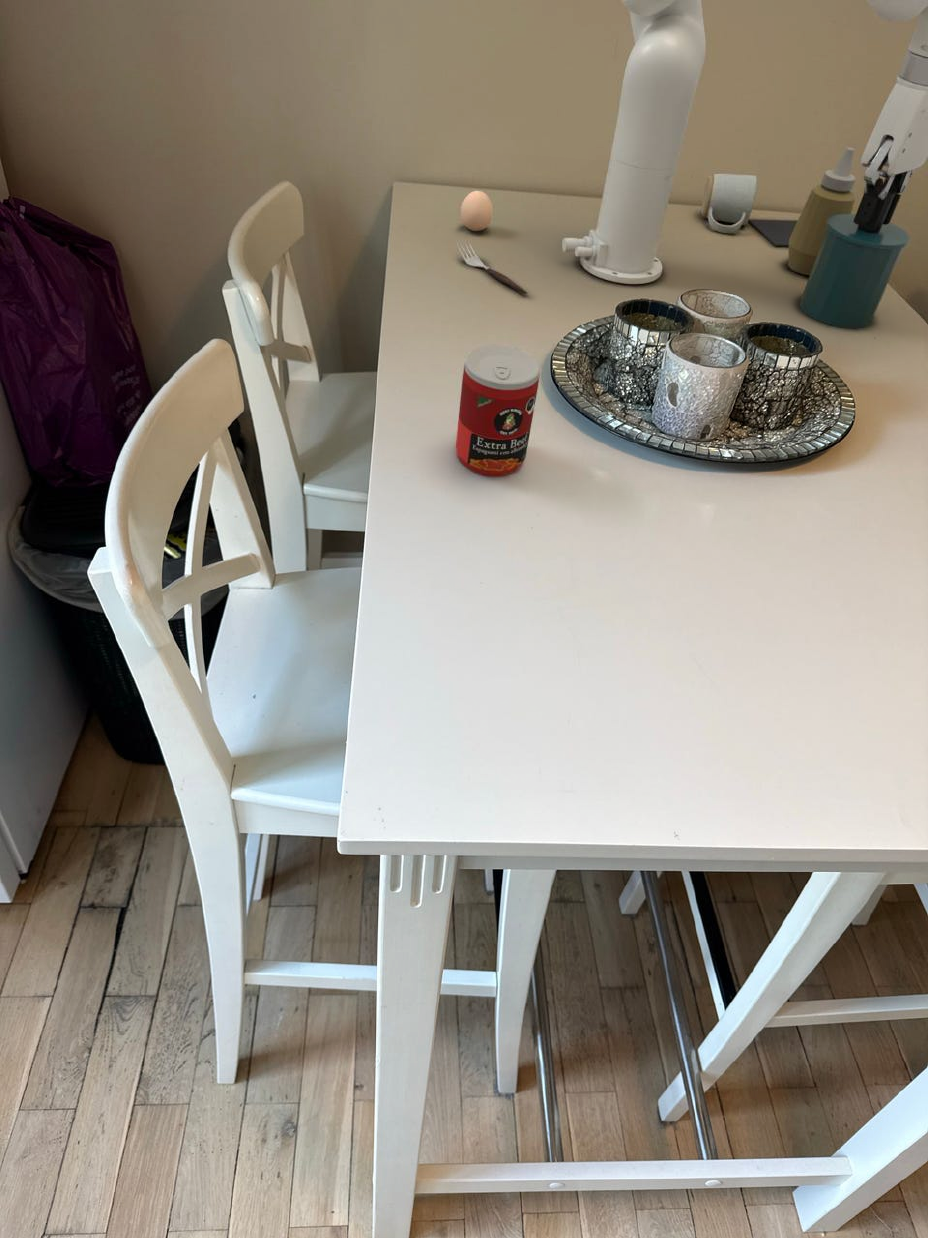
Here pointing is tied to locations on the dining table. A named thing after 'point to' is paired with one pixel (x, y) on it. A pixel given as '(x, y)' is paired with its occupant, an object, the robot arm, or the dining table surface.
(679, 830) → the dining table surface
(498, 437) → the canned food
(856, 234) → the tin lid
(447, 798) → the dining table surface
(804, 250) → the squeeze bottle
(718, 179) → the ceramic mug
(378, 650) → the dining table surface
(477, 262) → the fork
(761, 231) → the mat
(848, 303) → the tin
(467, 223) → the egg
